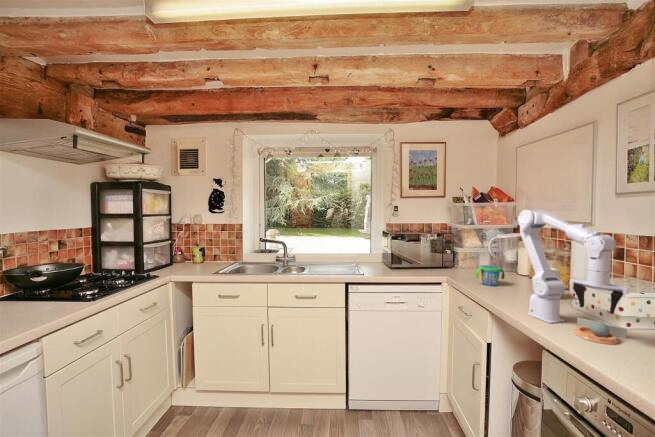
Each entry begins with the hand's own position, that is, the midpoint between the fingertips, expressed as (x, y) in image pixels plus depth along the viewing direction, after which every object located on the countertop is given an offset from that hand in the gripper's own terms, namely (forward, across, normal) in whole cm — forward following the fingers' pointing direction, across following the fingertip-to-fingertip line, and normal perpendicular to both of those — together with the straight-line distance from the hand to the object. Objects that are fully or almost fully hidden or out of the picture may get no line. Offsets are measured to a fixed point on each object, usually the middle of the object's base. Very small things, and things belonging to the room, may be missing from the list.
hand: (596, 309), depth 99 cm
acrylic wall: (+9, 0, -8) cm, 12 cm away
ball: (+6, -1, 0) cm, 6 cm away
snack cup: (+10, +53, -42) cm, 68 cm away
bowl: (+9, 0, 0) cm, 9 cm away
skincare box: (+10, +25, -40) cm, 49 cm away
